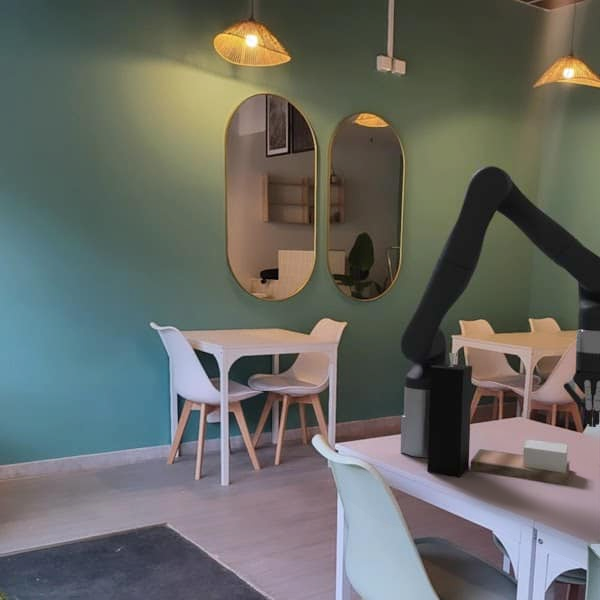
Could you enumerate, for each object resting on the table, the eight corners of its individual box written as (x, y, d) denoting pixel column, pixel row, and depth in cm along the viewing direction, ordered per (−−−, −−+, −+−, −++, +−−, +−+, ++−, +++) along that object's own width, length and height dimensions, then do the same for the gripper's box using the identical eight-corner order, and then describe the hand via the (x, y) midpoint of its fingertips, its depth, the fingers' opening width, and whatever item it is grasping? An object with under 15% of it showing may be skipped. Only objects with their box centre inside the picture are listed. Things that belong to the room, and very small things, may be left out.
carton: (523, 466, 138) (523, 447, 138) (526, 457, 145) (527, 439, 145) (565, 472, 134) (566, 453, 134) (566, 463, 141) (567, 444, 141)
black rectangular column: (469, 469, 142) (472, 352, 141) (460, 478, 135) (464, 355, 134) (437, 463, 146) (440, 349, 145) (426, 471, 139) (430, 352, 138)
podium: (470, 469, 141) (470, 461, 141) (479, 456, 152) (479, 448, 152) (567, 484, 132) (567, 475, 132) (569, 469, 143) (569, 461, 143)
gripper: (561, 349, 134) (559, 426, 134) (628, 353, 128) (626, 433, 128) (563, 347, 141) (561, 419, 141) (627, 350, 135) (625, 426, 135)
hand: (592, 426), depth 135 cm, fingers closed
